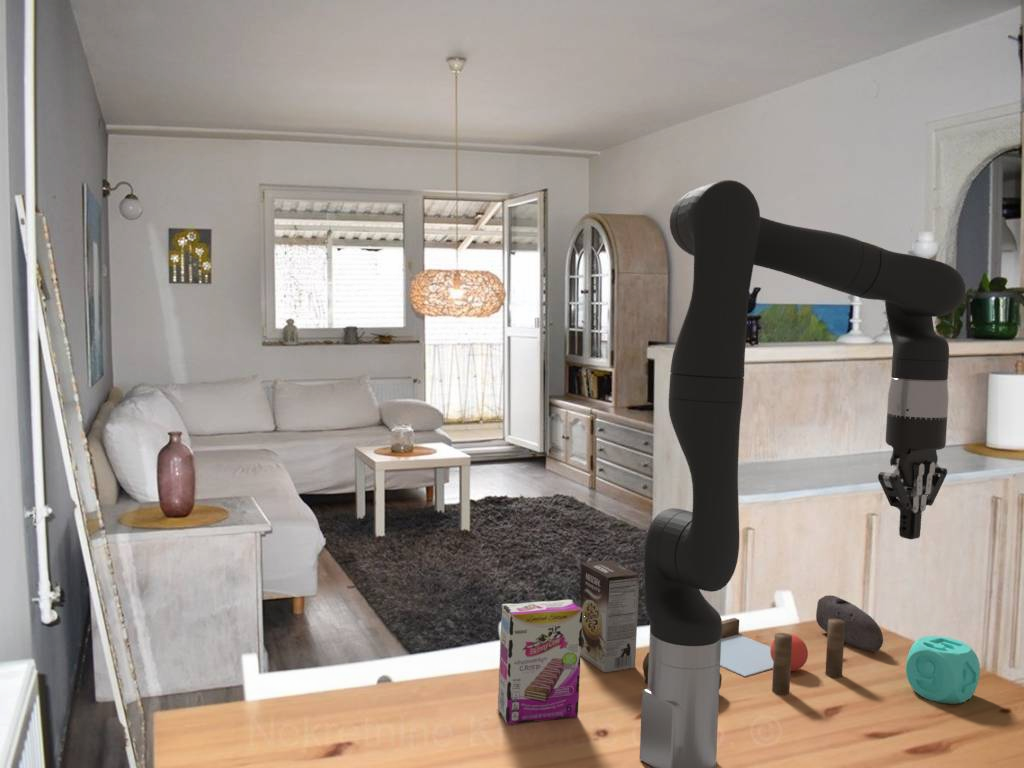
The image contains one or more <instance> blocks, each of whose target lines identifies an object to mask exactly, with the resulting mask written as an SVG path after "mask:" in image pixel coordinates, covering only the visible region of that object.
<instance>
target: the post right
mask: <svg viewBox="0 0 1024 768" xmlns="http://www.w3.org/2000/svg"><path fill="white" fill-rule="evenodd" d="M844 631H845V622H844V621H843V620H839V619H829V620H828V633H826V635H827V637H826V653H825V671H824V673H825V675H826V676H827V677H829V678H835V679H838V678H842V677H843V667H844V665H843V664H844V648H845V647H844V646H845V642H844Z"/></svg>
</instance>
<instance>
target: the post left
mask: <svg viewBox="0 0 1024 768" xmlns="http://www.w3.org/2000/svg"><path fill="white" fill-rule="evenodd" d="M789 634H790V633H785V632H777V633H774V640H775V641H774V640H773V641H774V662H773V669H772V683H771V684H772V686H771V691H772V693H773V694H775V695H779V696H787V695H790V686H791V684H790V683H791V671H790V669H791V649H792V636H791V635H789Z"/></svg>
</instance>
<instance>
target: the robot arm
mask: <svg viewBox="0 0 1024 768" xmlns="http://www.w3.org/2000/svg"><path fill="white" fill-rule="evenodd" d="M669 230H670V234H671V236H672V238H673V240H674V242H675V243H676V245H677V246H678V247H679V248H680V249H681V250H682V251H683V252H685V253H687V254H689V255H691V256H693V282H692V292H691V296H690V297H691V298H690V301H689V304H688V308H687V310H686V311H687V312H686V315H685V317H684V319H683V323H682V326H681V328H680V331H679V334H678V337H677V339H676V343H675V346H674V349H673V353H672V357H671V363H670V371H669V372H670V374H669V375H670V376H669V386H668V387H669V389H668V412H669V413H668V414H669V418H670V421H671V422H670V423H671V425H672V427H673V431H674V432H675V435H676V438H677V440H678V443H679V445H680V448H681V451H682V453H683V455H684V457H685V460H686V462H687V466H688V469H689V472H690V478H691V484H692V510H691V511H690V510H686V509H681V508H673V507H672V508H667V509H664V510H662V511H661V512H659V513H658V514H657V515H656V516H655V517H654V519H653V520H652V521H651V524H650V525H649V527H648V530H647V533H646V537H645V542H644V551H643V552H644V555H643V557H644V558H643V563H644V564H643V571H644V572H643V575H644V576H643V577H644V604H645V605H644V606H645V611H646V613H647V614H646V615H647V616H648V619H649V643H648V645H649V649H648V653H649V668H648V685H647V688H645V689H643V690H642V691H641V709H640V710H641V711H640V712H641V713H640V732H639V733H640V735H639V736H640V738H639V739H640V740H639V759H640V760H641V761H643V763H645V764H647V765H649V766H650V767H652V768H716V766H717V755H718V754H717V752H718V751H717V748H718V723H719V722H718V720H719V705H720V704H719V703H720V702H719V701H720V700H719V699H720V698H719V697H720V689H719V679H720V673H721V672H720V671H721V666H720V656H721V639H722V637H721V635H722V621H723V619H722V616H721V615H720V613H719V612H718V610H716V608H714V606H712V605H711V604H710V602H708V600H707V599H706V598H705V597H704V596H703V593H702V592H701V590H702V591H704V592H718V591H720V590H722V589H723V588H724V587H726V586H727V585H728V583H729V582H730V581H731V579H732V577H733V576H734V573H735V571H736V567H737V564H738V561H739V560H738V559H739V553H740V552H739V551H740V513H739V512H740V510H739V508H740V506H739V453H740V450H739V448H740V434H741V433H740V432H741V431H740V429H741V416H742V409H743V401H744V400H743V399H744V385H745V384H744V383H745V378H744V377H745V364H746V363H745V362H746V361H745V360H746V359H745V358H746V343H747V332H748V331H747V330H748V308H749V299H750V298H749V297H750V288H751V282H752V276H753V271H754V266H757V267H762V268H765V269H769V270H773V271H776V272H780V273H783V274H786V275H790V276H792V277H793V276H794V277H796V278H800V279H802V280H806V281H807V282H808V281H809V282H812V283H814V284H817V285H821V286H823V287H826V288H828V289H832V290H835V291H838V292H840V293H845V294H848V295H850V296H854V297H858V298H861V299H867V300H874V301H875V300H876V301H877V300H879V301H884V307H885V313H886V319H887V323H888V325H887V326H888V330H889V334H890V339H891V344H892V357H891V359H892V360H891V378H890V383H889V388H888V394H887V411H886V427H885V428H886V429H885V443H886V444H887V445H888V446H890V447H891V448H892V453H891V457H890V461H889V462H890V463H889V465H890V467H889V468H888V470H887V471H886V472H883V471H880V472H879V473H878V475H877V479H878V482H879V484H880V486H881V488H882V491H883V492H884V494H885V497H886V499H887V501H888V503H889V505H890V507H894V508H897V509H898V510H899V526H898V529H899V530H898V532H899V533H898V534H899V537H901V538H904V539H906V540H911V541H912V540H915V539H919V538H920V537H921V530H922V516H923V515H922V514H923V513H922V512H924V511H926V507H927V506H933V504H934V503H935V499H936V498H937V496H938V494H939V491H940V490H941V487H942V485H943V483H944V481H945V479H946V477H947V475H948V469H947V468H945V467H940V465H939V464H938V462H939V461H938V453H937V451H940V450H943V449H944V448H945V447H946V443H947V442H946V441H947V429H948V428H947V425H948V413H949V387H948V382H949V381H948V379H949V363H950V362H949V360H950V346H949V342H948V341H947V339H946V338H944V337H942V335H941V336H940V335H939V334H937V333H936V331H935V327H934V321H933V318H935V317H937V318H938V317H942V316H947V315H949V314H951V313H953V312H954V311H956V310H957V309H958V308H959V307H960V306H961V305H962V303H963V301H964V299H965V297H966V283H965V281H964V278H963V277H962V275H961V273H959V272H958V270H956V269H955V268H954V267H952V266H951V265H949V264H947V263H945V262H941V261H939V260H936V259H931V258H926V257H922V256H917V255H911V254H906V253H901V252H896V251H891V250H888V249H885V248H882V247H881V246H878V245H875V244H872V243H869V242H867V241H866V242H865V241H863V240H860V239H858V238H855V237H851V236H848V235H844V234H840V233H836V232H833V231H831V232H830V231H826V230H820V229H813V228H808V227H802V226H795V225H791V224H788V223H787V224H786V223H782V222H778V221H774V220H771V219H769V218H765V217H762V216H761V214H760V207H759V204H758V201H757V199H756V197H755V194H754V193H753V192H752V191H751V190H750V189H749V188H748V186H746V185H745V184H743V183H742V182H739V181H737V180H730V179H729V180H728V179H725V180H719V181H715V182H711V183H708V184H705V185H703V186H699V187H697V188H695V189H693V190H689V192H687V193H686V194H685V195H682V196H681V197H680V198H679V199H678V201H676V203H675V205H674V206H673V207H672V210H671V212H670V217H669Z"/></svg>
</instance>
